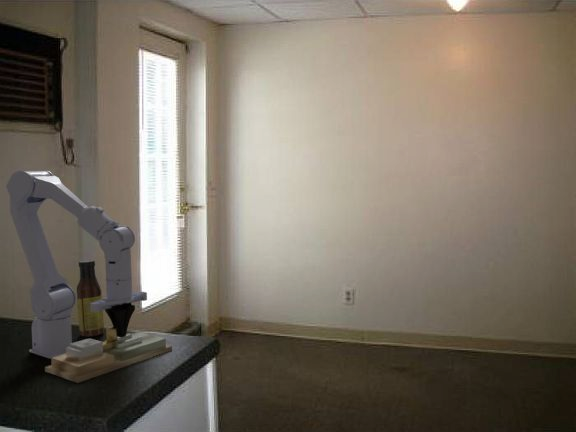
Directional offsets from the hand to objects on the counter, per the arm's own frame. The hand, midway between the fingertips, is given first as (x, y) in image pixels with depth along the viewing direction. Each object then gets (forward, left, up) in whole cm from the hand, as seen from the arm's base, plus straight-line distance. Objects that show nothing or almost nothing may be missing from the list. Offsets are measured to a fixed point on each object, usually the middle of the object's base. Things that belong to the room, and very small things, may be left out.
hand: (120, 336), depth 136 cm
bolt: (0, -5, -2) cm, 6 cm away
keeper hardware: (0, -4, -2) cm, 5 cm away
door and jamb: (0, -3, -5) cm, 6 cm away
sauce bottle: (-22, +7, -5) cm, 24 cm away
